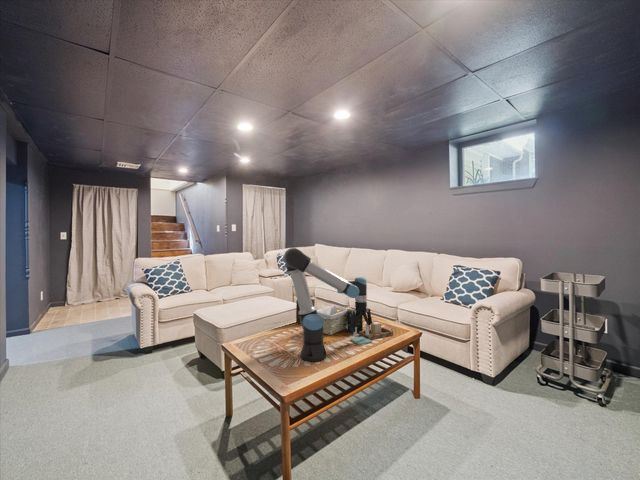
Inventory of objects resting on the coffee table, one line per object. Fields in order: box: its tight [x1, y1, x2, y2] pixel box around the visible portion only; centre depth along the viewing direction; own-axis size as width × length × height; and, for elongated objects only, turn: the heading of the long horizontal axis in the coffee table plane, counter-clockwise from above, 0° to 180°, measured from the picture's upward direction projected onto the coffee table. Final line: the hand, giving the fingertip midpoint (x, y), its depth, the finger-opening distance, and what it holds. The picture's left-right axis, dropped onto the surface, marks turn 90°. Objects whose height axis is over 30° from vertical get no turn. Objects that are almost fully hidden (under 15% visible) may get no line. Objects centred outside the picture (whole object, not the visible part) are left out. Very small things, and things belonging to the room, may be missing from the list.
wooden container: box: [295, 298, 316, 325], centre depth 234 cm, size 15×15×22 cm
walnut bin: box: [358, 327, 394, 341], centre depth 203 cm, size 21×11×2 cm, turn 117°
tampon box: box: [347, 308, 364, 333], centre depth 213 cm, size 11×9×15 cm
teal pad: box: [350, 336, 373, 346], centre depth 191 cm, size 10×10×1 cm
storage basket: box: [316, 304, 348, 336], centre depth 215 cm, size 24×16×15 cm
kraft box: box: [370, 321, 382, 335], centre depth 203 cm, size 5×5×8 cm
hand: (361, 335), depth 191 cm, fingers open, 9 cm apart
